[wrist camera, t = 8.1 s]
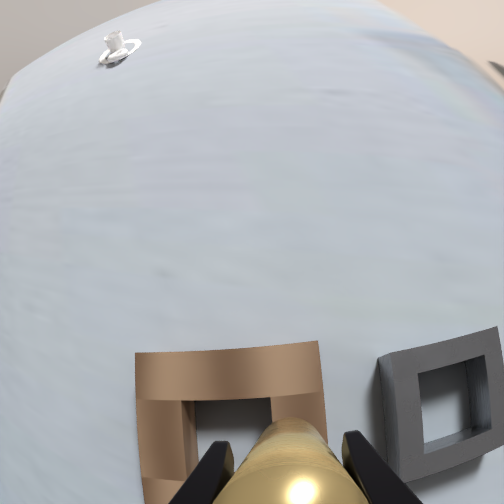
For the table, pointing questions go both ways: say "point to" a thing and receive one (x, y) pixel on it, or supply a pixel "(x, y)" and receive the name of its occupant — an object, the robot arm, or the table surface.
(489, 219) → the table surface
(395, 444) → the socket block
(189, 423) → the wooden square frame
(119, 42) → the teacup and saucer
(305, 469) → the brass cylinder
